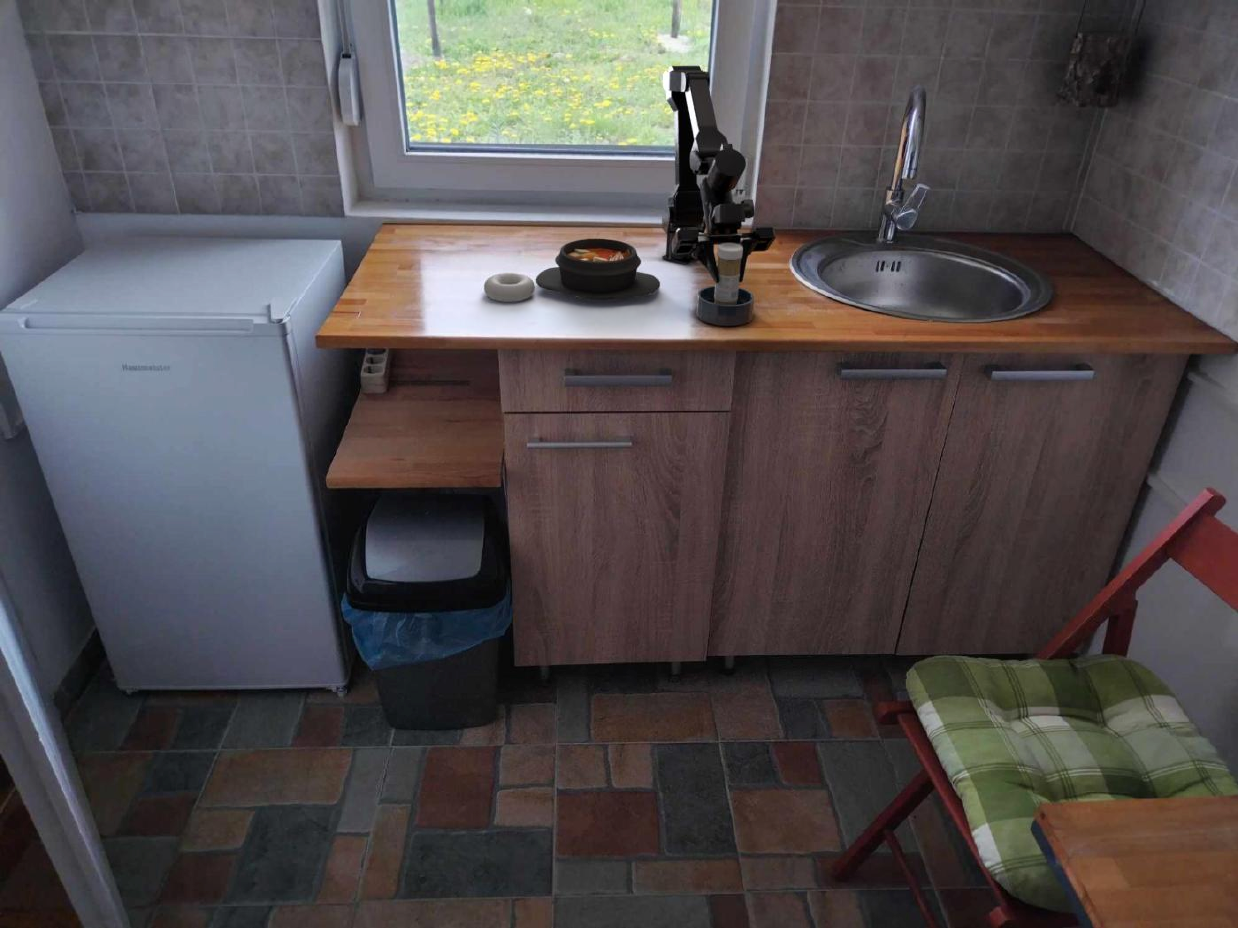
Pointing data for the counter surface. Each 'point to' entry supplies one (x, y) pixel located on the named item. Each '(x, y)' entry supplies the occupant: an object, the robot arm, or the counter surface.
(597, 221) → the counter surface
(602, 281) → the casserole
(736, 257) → the sprinkles bottle
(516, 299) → the donut
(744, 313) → the bowl
